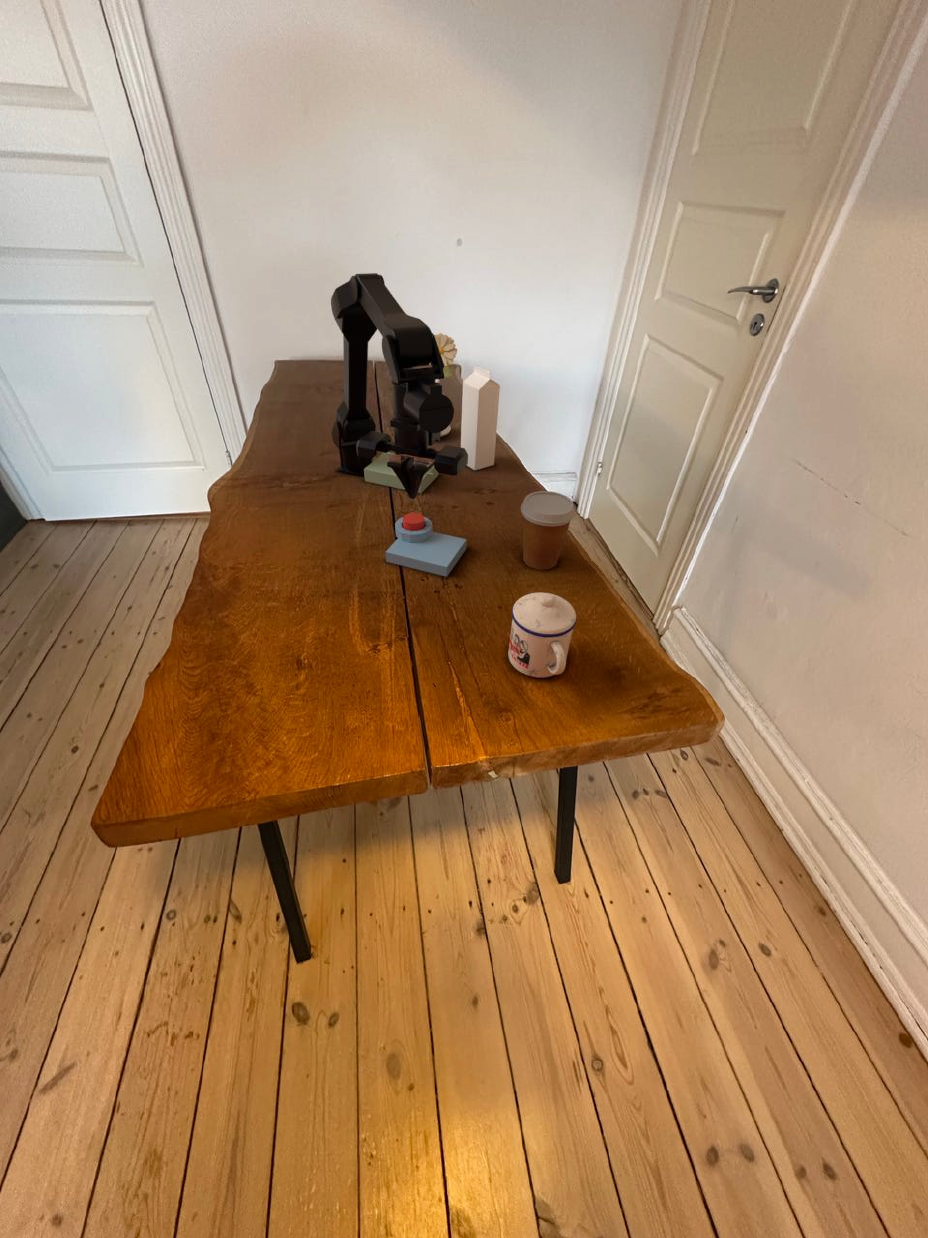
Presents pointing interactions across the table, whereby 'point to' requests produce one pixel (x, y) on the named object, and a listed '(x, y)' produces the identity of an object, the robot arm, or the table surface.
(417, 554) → the button block
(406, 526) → the button
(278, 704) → the table surface
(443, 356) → the flower in vase
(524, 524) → the disposable coffee cup
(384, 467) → the panel
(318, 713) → the table surface
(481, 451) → the milk
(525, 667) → the teacup with lid
